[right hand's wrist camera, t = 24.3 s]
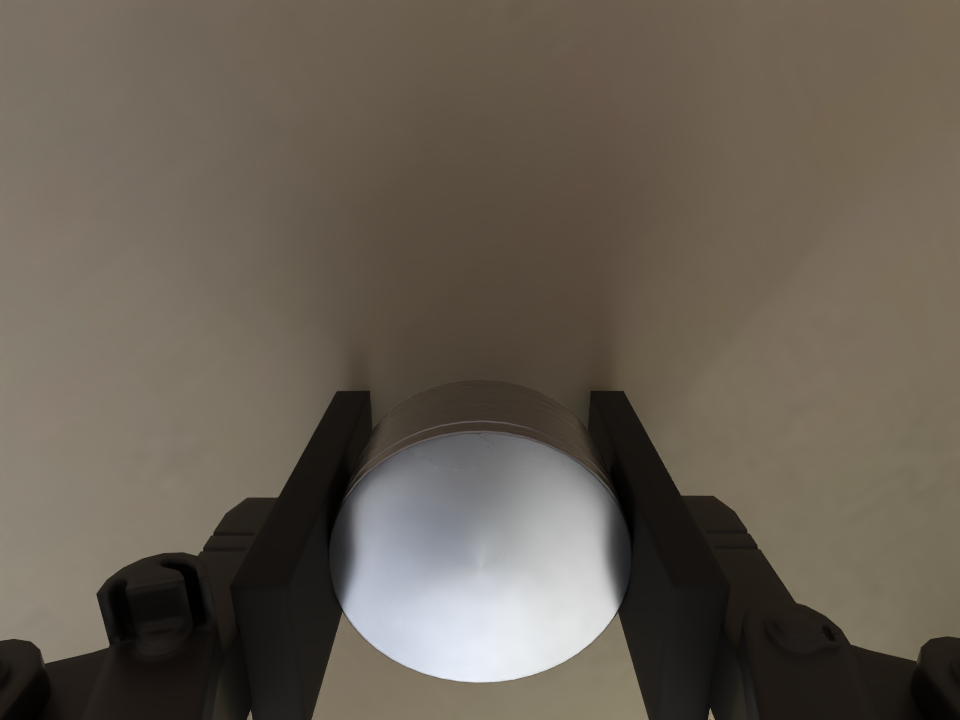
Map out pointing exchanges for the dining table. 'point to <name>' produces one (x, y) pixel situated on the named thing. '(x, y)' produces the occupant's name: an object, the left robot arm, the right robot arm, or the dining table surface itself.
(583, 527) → the lid
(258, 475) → the dining table surface
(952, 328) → the dining table surface
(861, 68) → the dining table surface
